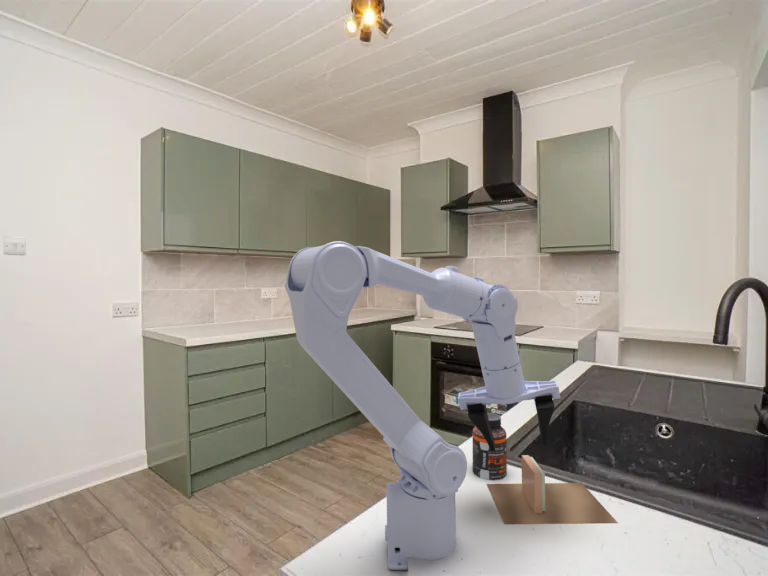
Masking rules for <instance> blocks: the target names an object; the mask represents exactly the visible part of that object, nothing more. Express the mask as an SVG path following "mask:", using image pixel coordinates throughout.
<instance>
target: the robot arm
mask: <svg viewBox="0 0 768 576" xmlns="http://www.w3.org/2000/svg"><path fill="white" fill-rule="evenodd" d="M289 262H290V263H289V265H288V268H287V272H286V273H287V274H286V278H285V282H284V288H285V291H286V293H287V295H288V298H289V302H290V307H291V314H292V319H293V324H294V329H295V335H296V340H297V342H298V343H299V345H300V347H301V348H302V349H303V350H304V351H305V352H306V353H307V354H308V356H310V358H311V359H312V360H313V361H314V362H315V363H316V364H317V365H318V366H319V367H320V368H321V370H322V371H323V372H324V373H325V374H326V375H327V376H328V377H329V379H330V380H332V382H333V383H334V384H335V385H336V386H337V387H338V388H339V389H340V391H341V392H342V393H343V394H344V395H345V396H346V397H347V398H348V399H349V400H350V401H351V402H352V403H353V405H354V406H355V407H356V409H358V411H360V413H361V414H362V415H364V417H365V418H366V419H367V420H368V422H369V423H371V424H372V426H374V428H375V429H376V430H377V431H378V432H379V433H380V435H382V437H383V438H382V439H383V442H385V443H386V445H387V447H388V448H389V450H390V454H391V459H392V461H393V462H394V464H395V465H396V466H398V467H399V477H400V480H397V481H392V482H387V483H386V524H385V526H384V541H385V542H387V544H386V545H387V568H388V570H397V571H398V570H403V571H404V570H409V565H408V563H409V561H408V558H415V559H416V558H417V559H421V560H427V561H434V560H436V561H437V560H441V559H444V558H447V557H448V556H450V555H451V554H452V553H453V552H454V551H455V550H456V547H457V526H456V525H457V519H456V516H457V515H456V513H457V512H456V510H457V509H456V507H457V506H456V493H458V491H459V488H460V487H461V486H462V484H463V482H464V481H465V480H466V479H465V478H466V477H467V471H468V460H467V456H466V454H465V453H464V451H463V450H462V449H461V448H460V447H459V446H457V445H455V444H452V443H449V442H447V441H446V440H444V439H443V438H442V436H441V435H440V434H438V432H436V431H435V430H434V429H432V428H431V427H430V426H429V425H428V424H426V422H424V421H423V420H421V418H420V417H419V416H418V415H417V413H416V412H414V410H413V409H412V407H410V405H409V404H408V403H407V402H406V401H405V400H404V398H403V397H402V396H401V395H400V394H399V393H398V391H397V390H396V389H395V388H394V386H392V385H391V383H390V382H389V381H388V379H387V378H386V377H385V376H384V375H383V374H382V372H381V371H380V370H379V369H378V368H377V366H375V364H374V363H373V362H372V361H371V360H370V359H369V357H368V356H367V355H366V354H365V352H364V351H363V350H362V349H361V347H359V346H358V344H357V343H356V342H355V340H354V339H353V338H352V337H351V336H350V334H348V332H347V327H348V323H349V317H350V314H351V312H352V310H353V308H354V306H355V304H356V302H357V300H358V297H359V295H360V293H361V291H362V290H363V288H373V287H374V286H376V285H379V286H383V287H387V288H391V289H395V290H398V291H403V292H406V293H411V294H415V295H418V296H422V298H423V300H424V303H425V305H426V306H427V307H428V308H430V309H432V310H434V311H435V310H436V311H439V312H442V313H445V314H449V315H453V316H456V317H459V318H460V317H461V318H462V319H463V320H464V321H465V322H467V323H468V322H470V325H471V329H472V332H473V333H472V334H473V337H474V340H475V341H474V342H475V345H476V346H475V347H476V350H477V354H478V355H477V356H478V358H479V359H478V360H479V363H480V368H481V373H482V377H483V382H484V386H481V387H478V388H475V389H471V390H467V391H461V392H458V395H457V401H458V405H459V409H460V411H462V410H463V411H464V410H467V416H468V418H469V421H470V422H472V424H474V426H476V427H477V428H478V429H479V430H480V432H481V433H482V435H483V436H484V438H485V439H486V441H487V443H488V445H489V448H490V450H491V451H493V450H495V441H494V436H493V433H492V430H491V427H490V423H489V419H488V414H487V413H488V411H487V405H488V406H489V405H511V404H515V403H518V402H521V401H522V402H523V401H531V400H534V405H535V410H536V413H537V419H538V420H537V421H538V429H539V435H540V439H541V443H542V447H548V435H549V434H548V433H549V432H548V431H549V426H550V423H551V419H552V416H553V414H554V412H555V403H554V400H558V399H561V394H560V393H561V392H560V389H559V385H558V382H557V380H547V381H546V380H544V381H543V380H542V381H541V380H540V381H539V380H525V377H524V374H523V368H522V365H521V364H522V363H521V357H520V353H519V347H518V345H517V340H516V334H515V332H516V328H517V324H516V314H517V312H518V307H519V306H518V303H519V302H518V298H517V297H515V296H514V295H513V292H512V291H510V290H509V288H508V287H507V286H505V285H503V284H488V283H486V282H485V281H484V280H485V279H484V277H481V276H473V277H471V276H468V275H465V274H463V273H459V271H460V269H459V268H458V267H457V266H453V265H447V266H444V267H440V268H439V267H437V268H436V269H435V270H433V271H432V272H430V271H427V270H424V269H422V268H419V267H417V266H414V265H413V264H410V263H407V262H404V261H402V260H399V259H397V258H395V257H392V256H389V255H387V254H384V253H382V252H379V251H377V250H374V249H372V248H370V247H367V246H362V245H361V246H360V245H356V246H355V245H353V244H350V243H349V242H346V241H341V240H338V241H337V240H335V241H331V242H328V243H326V244H324V245H319V246H309V247H304V248H302V249H300V250H299V251H298V252H296V253H295V254H294V255H293V256H292V258H291V260H290V261H289Z"/></svg>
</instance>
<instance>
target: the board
mask: <svg viewBox="0 0 768 576" xmlns="http://www.w3.org/2000/svg"><path fill="white" fill-rule="evenodd" d="M486 487H487V488H488V491H489V493H490V496H491V498H492V501H493V502H494V504H495V507H496V509H497V512H498V513H499V515H500V517H501V521H502V522H503V524H504V525H553V524H554V525H559V524H561V525H563V524H565V525H568V524H571V525H573V524H576V525H577V524H581V525H583V524H619V522H618V521H617V520H616V519H615V517H613V515H612V514H610V512H609V511H608V510H607V509H606V508H605V507H604V506H603V505H602V503H601V502H600V501H599V500H598V499H597V498H596V496H594V494H593V493H592V492H591V491H590V490H589V489H588V488H587V487H586V486H585V484H583V482H552V483H551V482H548V483H546V482H545V511H542V513H534V511H533V509H532V507H531V506H530V504H529V502H528V501H527V499H526V497H525V496H524V494H523V492H522V483H486Z"/></svg>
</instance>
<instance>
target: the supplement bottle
mask: <svg viewBox="0 0 768 576" xmlns="http://www.w3.org/2000/svg"><path fill="white" fill-rule="evenodd" d="M487 414H488V419H489V423H490V427H491V430H492V433H493V436H494V441H495V450H493V451H491V450H490V448H489V445H488V443H487V441H486V439H485V438H484V436H483V435H482V433H481V432H480V430H479V429H478V428H477V427H476V425H474V427H473V429H472V473H473V475H475V476H476V477H478V478H479V479H483V480H486V481H487V480H489V481H499V480H503V479H505V478H506V476H507V474H508V473H507V471H508V470H507V469H508V465H507V464H508V463H507V461H508V459H507V458H508V457H507V455H508V454H507V453H508V451H507V449H508V448H507V447H508V446H507V442H508V441H507V431H506V429H505V428H504V427H502V418H501V416H500V415H499V414H496V413H492V412H487Z"/></svg>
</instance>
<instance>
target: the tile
mask: <svg viewBox="0 0 768 576" xmlns="http://www.w3.org/2000/svg"><path fill="white" fill-rule="evenodd" d="M545 483H546V473H545V472H544V471H543V469H542V468H541V467H540V465H538V463H537V461H536V460H535V459H534V457H533V456H530V455H529V454H526V455H525V454H522V455H521V484H522V492H523V494H524V496H525V497H526V499H527V501H528V502H529V504H530V506H531V507H532V509H533V511H534V513H542V511H545Z"/></svg>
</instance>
